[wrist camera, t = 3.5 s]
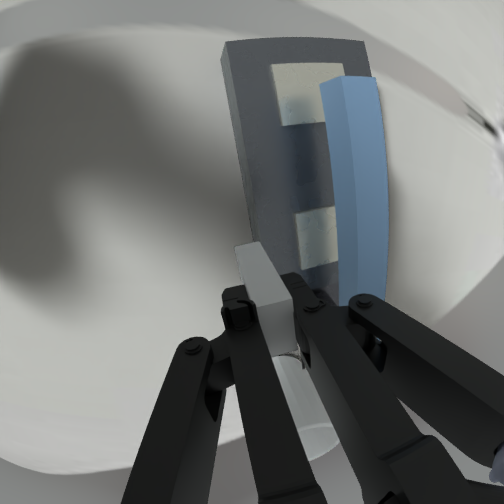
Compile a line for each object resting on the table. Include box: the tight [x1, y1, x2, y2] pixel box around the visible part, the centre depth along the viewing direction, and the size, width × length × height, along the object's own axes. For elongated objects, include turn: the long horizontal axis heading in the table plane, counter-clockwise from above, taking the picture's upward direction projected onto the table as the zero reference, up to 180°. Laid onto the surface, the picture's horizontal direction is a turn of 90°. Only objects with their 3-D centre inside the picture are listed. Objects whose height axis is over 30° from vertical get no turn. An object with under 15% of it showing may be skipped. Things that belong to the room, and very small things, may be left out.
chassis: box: [221, 37, 372, 290], centre depth 23 cm, size 12×22×5 cm, turn 10°
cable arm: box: [319, 76, 389, 341], centre depth 19 cm, size 24×4×3 cm, turn 10°
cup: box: [271, 354, 340, 461], centre depth 30 cm, size 10×10×13 cm
